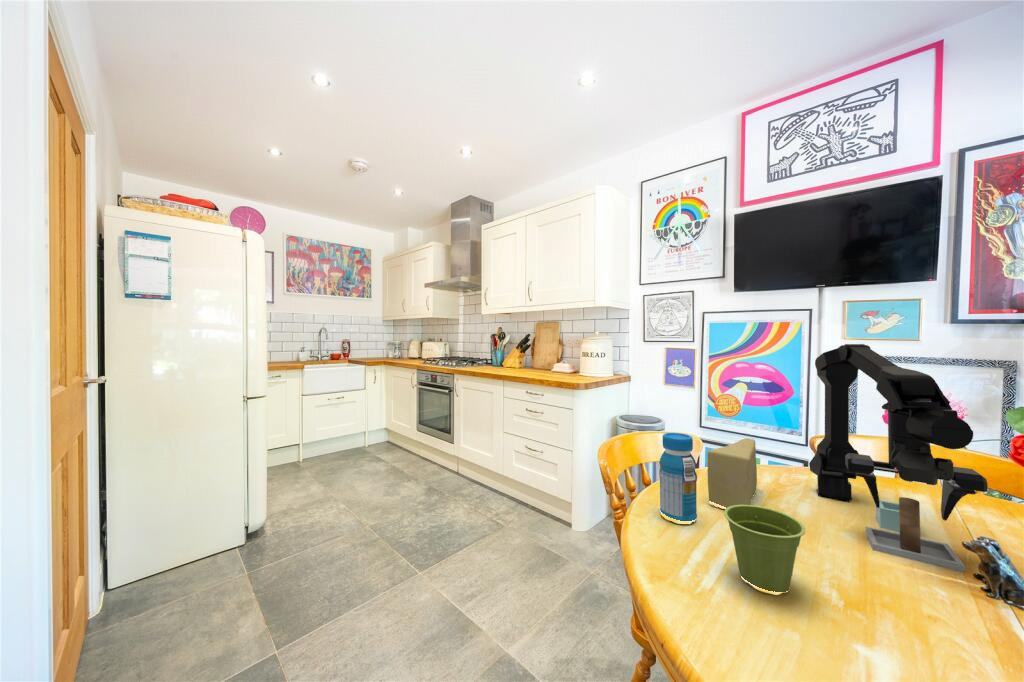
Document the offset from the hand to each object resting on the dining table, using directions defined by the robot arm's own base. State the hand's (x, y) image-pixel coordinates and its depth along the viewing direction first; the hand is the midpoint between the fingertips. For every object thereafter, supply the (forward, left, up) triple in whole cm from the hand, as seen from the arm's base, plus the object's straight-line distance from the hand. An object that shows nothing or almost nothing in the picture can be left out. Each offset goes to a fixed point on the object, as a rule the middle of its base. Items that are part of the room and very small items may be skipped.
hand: (909, 513), depth 74 cm
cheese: (-30, +10, -8) cm, 33 cm away
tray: (0, 0, -8) cm, 8 cm away
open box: (0, +12, -8) cm, 14 cm away
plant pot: (-23, -29, -8) cm, 38 cm away
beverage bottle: (-41, -12, -8) cm, 44 cm away
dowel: (0, 0, -7) cm, 7 cm away
